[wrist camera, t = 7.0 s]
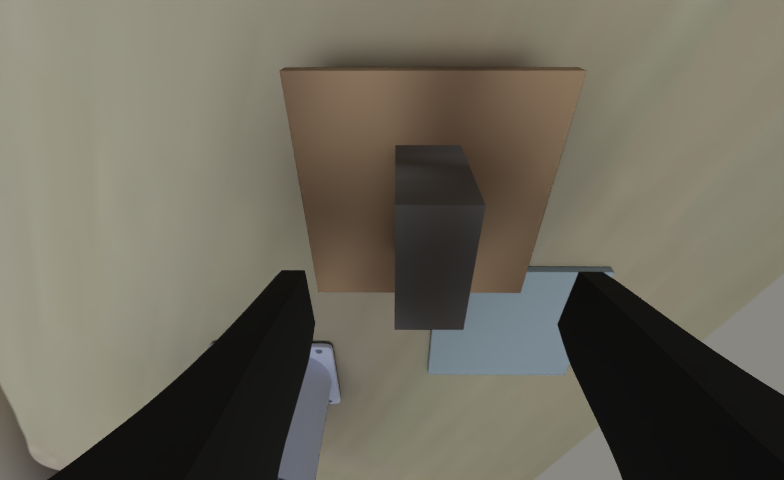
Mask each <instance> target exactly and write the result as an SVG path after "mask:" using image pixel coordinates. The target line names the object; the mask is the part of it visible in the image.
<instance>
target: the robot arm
mask: <svg viewBox="0 0 784 480" xmlns="http://www.w3.org/2000/svg"><path fill="white" fill-rule="evenodd" d="M557 325H558V328H559V332H560V335H561V338H562V342H563V345H564V348H565V351H566V354H567V357H568V360H569V362H570V364H571V366H572V369H573V371H574V373H575V375H576V377H577V379H578V382H579V384H580V386H581V388H582V390H583V392H584V394H585V397H586V399H587V401H588V403H589V405H590V407H591V409H592V411H593V413H594V416H595V418H596V420H597V422H598V424H599V426H600V428H601V430H602V432H603V434H604V437H605V439H606V441H607V443H608V445H609V447H610V450H611V452H612V454H613V457H614V459H615V461H616V464H617V466H618V468H619V471H620V474H621V477H622V479H623V480H784V395H782V394H780V393H779V392H777V391H775V390H774V389H772V388H771V387H769V386H767V385H766V384H764V383H763V382H761V381H759V380H758V379H756V378H755V377H753V376H752V375H750V374H749V373H747V372H745V371H744V370H742V369H741V368H739V367H738V366H736V365H735V364H733V363H732V362H730V361H729V360H727V359H726V358H724V357H723V356H721V355H720V354H718V353H717V352H715V351H713V350H712V349H711V348H709V347H708V346H707V345H705V344H704V343H702V342H701V341H699V340H698V339H696V338H695V337H694V336H692V335H691V334H689V333H688V332H686V331H685V330H684V329H682V328H681V327H679V326H678V325H677V324H675V323H674V322H672V321H671V320H670V319H668V318H667V317H666V316H664V315H663V314H661V313H660V312H659V311H657V310H656V309H655V308H653V307H652V306H650V305H649V304H648V303H646V302H645V301H644V300H642V299H641V298H639V297H638V296H637V295H635V294H634V293H633V292H631V291H630V290H628V289H627V288H626V287H624V286H623V285H622V284H620V283H619V282H617V281H616V280H614V279H613V278H611V277H610V276H608V275H607V274H605V273H604V272H578V275H577V277H576V280H575V282H574V285H573V287H572V289H571V292H570V294H569V297H568V299H567V302H566V304H565V307H564V309H563V311H562V314H561V316H560V319H559V321H558V324H557ZM314 327H315V320H314V315H313V310H312V305H311V300H310V294H309V289H308V284H307V279H306V274H305V270H282V271H281V272H280V273H279V274H278V275H277V276H276V277H275V278H274V279H273V280H272V281H271V282H270V284H269V285H268V286H267V287H266V288H265V289H264V290H263V291H262V293H261V294H260V295H259V296H258V297H257V298H256V299H255V300H254V302H253V303H252V304H251V305H250V306H249V307H248V308H247V309H246V310H245V311H244V312H243V314H242V315H241V316H240V317H239V318H238V319H237V320H236V321H235V322H234V323H233V324H232V325H231V326H230V327H229V328H228V329H227V330H226V331H225V333H224V334H223V335H222V336H221V337H220V338H219V339H218V340H217V341H216V342H215V343H212V344H210V346H209V348H208V349H207V350H206V351H205V352H204V353H203V354H202V355H201V356H200V357H199V358H198V359H197V360H196V361H195V362H194V363H193V364H192V365H191V366H190V367H189V368H188V369H187V370H185V371H184V372H183V373H182V374H181V375H180V376H179V377H178V378H177V379H176V380H174V381H173V382H172V383H171V384H170V385H169V386H168V387H167V388H165V389H164V390H163V391H162V392H161V393H159V394H158V395H157V396H156V397H155V398H154V399H152V400H151V401H150V402H149V403H148V404H147V405H145V406H144V407H143V408H142V409H141V410H139V411H138V412H137V413H136V414H134V415H133V416H132V417H130V418H129V419H128V420H127V421H125V422H124V423H123V424H122V425H120V426H119V427H118V428H116V429H115V430H114V431H112V432H111V433H110V434H109V435H107V436H106V437H105V438H103V439H102V440H101V441H99V442H98V443H97V444H96V445H94V446H93V447H92V448H90V449H89V450H88V451H86V452H85V453H84V454H82V455H81V456H80V457H79V458H77V459H76V460H74V461H73V462H72V463H70V464H69V465H68V466H66V467H65V468H63V469H62V470H61V471H59V472H58V473H56V474H55V475H53V476H52V477H51V478H49V479H48V480H316V474H317V468H318V462H319V456H320V450H321V444H322V438H323V432H324V426H325V420H326V414H327V408H328V404H338V403H339V402H340V399H341V396H340V390H339V384H338V378H337V371H336V365H335V359H334V353H333V348H332V346H331V345H329V344H317V343H312V340H313V334H314Z"/></svg>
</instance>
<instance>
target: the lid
mask: <svg viewBox="0 0 784 480" xmlns="http://www.w3.org/2000/svg"><path fill="white" fill-rule="evenodd" d="M585 74H586V70H584V69H581V68H579V67H307V68H283V69H282V70H280V75H281V81H282V87H283V93H284V98H285V104H286V110H287V115H288V121H289V127H290V133H291V138H292V144H293V150H294V156H295V161H296V167H297V173H298V178H299V184H300V190H301V196H302V201H303V207H304V213H305V219H306V224H307V230H308V236H309V241H310V247H311V253H312V259H313V264H314V270H315V276H316V282H317V287H318V292H395V330H464V324H465V318H466V313H467V307H468V302H469V296H470V293H521V290H522V286H523V283H524V280H525V276H526V273H527V270H528V266H529V263H530V259H531V256H532V253H533V249H534V246H535V243H536V239H537V236H538V233H539V229H540V226H541V222H542V219H543V216H544V212H545V209H546V206H547V202H548V199H549V196H550V192H551V189H552V185H553V182H554V179H555V175H556V172H557V169H558V165H559V162H560V159H561V155H562V152H563V148H564V145H565V142H566V138H567V135H568V132H569V128H570V125H571V121H572V118H573V115H574V111H575V108H576V105H577V101H578V98H579V95H580V91H581V88H582V84H583V81H584V78H585Z"/></svg>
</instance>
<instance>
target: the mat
mask: <svg viewBox="0 0 784 480" xmlns="http://www.w3.org/2000/svg"><path fill="white" fill-rule="evenodd" d="M578 272H604V273H605V274H607V275H608V276H610V277H611V278H612V277H613V275H614V271H613V270H612V268H611V267H528V270H527V273H526V276H525V280H524V283H523V286H522V290H521V293H470V296H469V302H468V307H467V313H466V318H465V324H464V330H431V338H430V349H429V359H428V374H460V375H564V374H565V372H566V370H567V368H568V366H569V364H570V362H569V360H568V357H567V354H566V351H565V348H564V345H563V342H562V338H561V335H560V332H559V328H558V325H557V324H558V321H559V319H560V316H561V314H562V311H563V309H564V307H565V304H566V302H567V299H568V297H569V294H570V292H571V289H572V287H573V285H574V282H575V280H576V277H577V275H578Z"/></svg>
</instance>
